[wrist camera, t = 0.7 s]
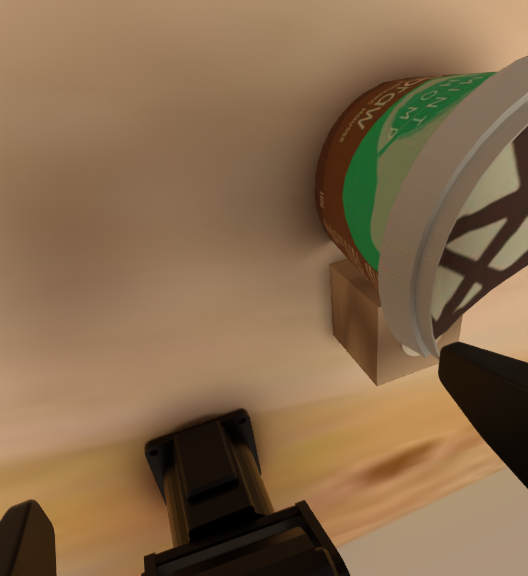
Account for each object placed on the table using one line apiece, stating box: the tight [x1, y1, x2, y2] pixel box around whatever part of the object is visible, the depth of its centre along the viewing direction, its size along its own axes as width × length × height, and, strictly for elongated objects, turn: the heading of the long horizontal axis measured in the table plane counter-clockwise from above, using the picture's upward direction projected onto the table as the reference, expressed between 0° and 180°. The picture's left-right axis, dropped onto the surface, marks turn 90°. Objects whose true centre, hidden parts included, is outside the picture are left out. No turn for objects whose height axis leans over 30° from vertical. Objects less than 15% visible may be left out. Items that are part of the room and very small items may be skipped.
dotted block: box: [330, 259, 463, 386], centre depth 23 cm, size 5×5×5 cm
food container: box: [315, 56, 528, 360], centre depth 17 cm, size 12×6×10 cm, turn 130°
